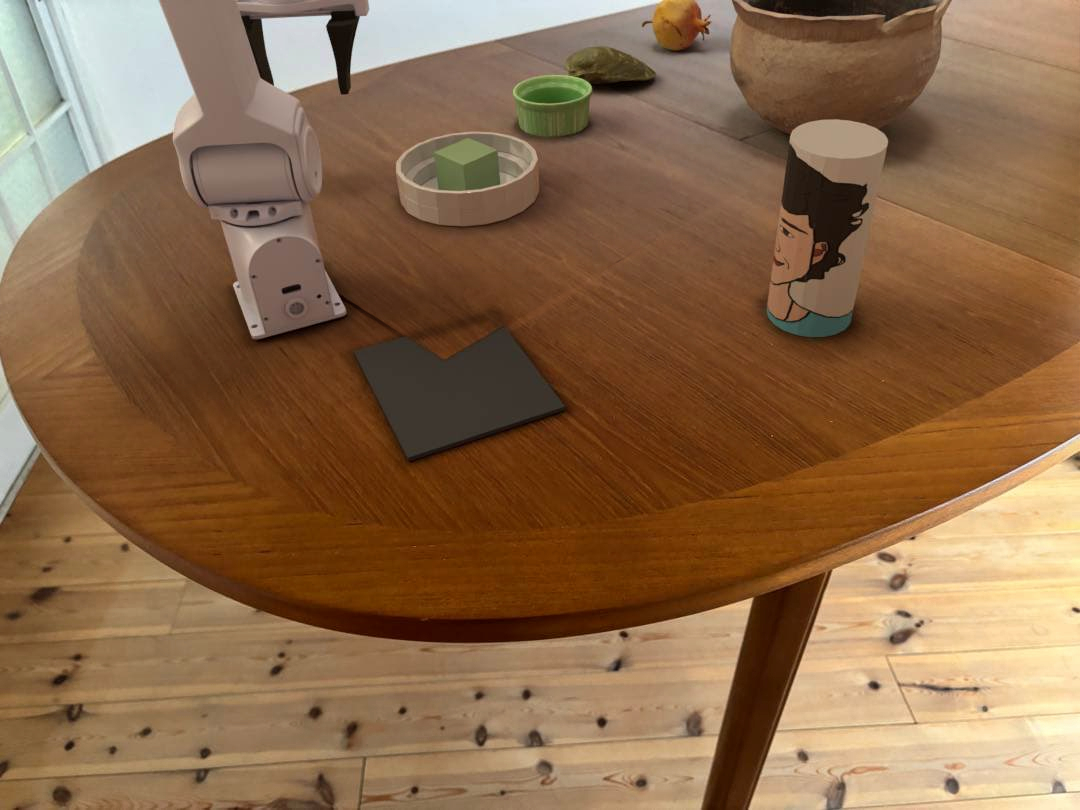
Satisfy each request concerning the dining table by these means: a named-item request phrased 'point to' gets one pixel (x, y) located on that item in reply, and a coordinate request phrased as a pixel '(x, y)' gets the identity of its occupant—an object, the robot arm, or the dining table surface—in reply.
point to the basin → (468, 205)
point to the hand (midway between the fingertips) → (307, 92)
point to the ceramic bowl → (834, 58)
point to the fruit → (678, 23)
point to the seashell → (606, 66)
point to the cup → (824, 225)
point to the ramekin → (553, 105)
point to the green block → (467, 166)
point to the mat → (455, 391)
